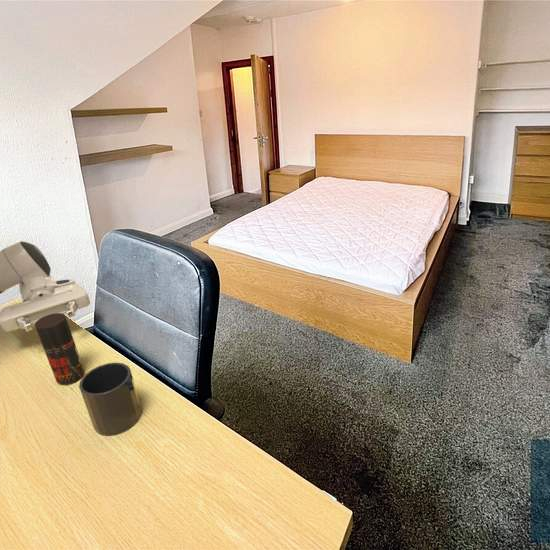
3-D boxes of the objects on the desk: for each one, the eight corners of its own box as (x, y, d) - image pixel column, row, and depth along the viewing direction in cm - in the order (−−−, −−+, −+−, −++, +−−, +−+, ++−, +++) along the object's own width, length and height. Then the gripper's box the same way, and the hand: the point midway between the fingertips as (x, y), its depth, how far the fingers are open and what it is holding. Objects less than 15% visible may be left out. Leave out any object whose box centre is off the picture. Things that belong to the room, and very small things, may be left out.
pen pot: (83, 428, 78) (68, 388, 74) (117, 396, 86) (105, 358, 81) (118, 441, 75) (105, 400, 71) (151, 407, 82) (140, 368, 78)
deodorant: (53, 376, 93) (31, 321, 86) (79, 364, 97) (60, 310, 90) (61, 389, 89) (38, 332, 82) (88, 376, 92) (69, 320, 86)
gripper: (-8, 301, 102) (-5, 325, 91) (79, 276, 112) (90, 295, 101) (1, 323, 104) (5, 348, 94) (85, 296, 114) (97, 317, 104)
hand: (50, 320), depth 98 cm, fingers open, 8 cm apart
